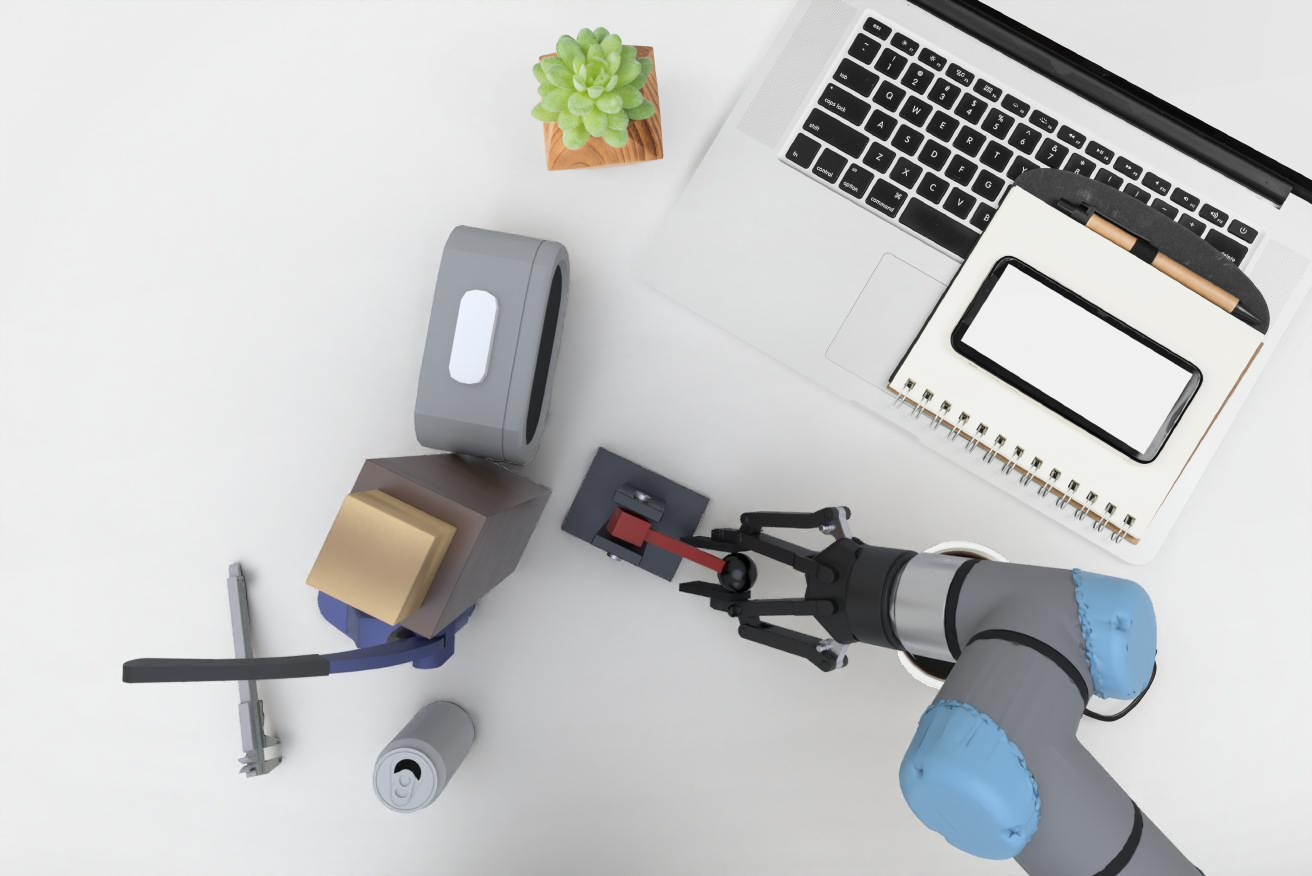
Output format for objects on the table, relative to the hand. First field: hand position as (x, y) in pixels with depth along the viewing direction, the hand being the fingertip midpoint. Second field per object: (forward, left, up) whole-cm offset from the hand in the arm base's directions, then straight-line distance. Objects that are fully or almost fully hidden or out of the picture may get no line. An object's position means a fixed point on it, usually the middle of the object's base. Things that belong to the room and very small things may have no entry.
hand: (689, 563), depth 79 cm
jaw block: (-4, +20, +24) cm, 32 cm away
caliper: (-28, +35, -4) cm, 45 cm away
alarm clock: (+11, +25, -4) cm, 27 cm away
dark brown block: (-4, +20, -4) cm, 21 cm away
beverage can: (-26, +15, -4) cm, 30 cm away
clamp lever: (+2, +2, +5) cm, 6 cm away
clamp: (-16, +25, -4) cm, 30 cm away
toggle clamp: (+2, +7, -4) cm, 8 cm away
